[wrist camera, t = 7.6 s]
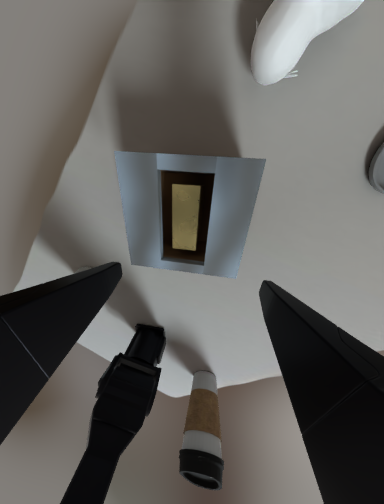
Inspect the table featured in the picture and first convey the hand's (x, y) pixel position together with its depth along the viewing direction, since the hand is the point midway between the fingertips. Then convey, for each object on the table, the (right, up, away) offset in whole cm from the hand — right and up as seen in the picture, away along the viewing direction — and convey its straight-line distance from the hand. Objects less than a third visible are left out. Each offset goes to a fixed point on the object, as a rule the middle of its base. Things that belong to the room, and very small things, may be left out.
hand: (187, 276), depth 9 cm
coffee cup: (+4, -32, +29) cm, 43 cm away
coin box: (+1, +7, +10) cm, 12 cm away
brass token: (0, +7, +10) cm, 12 cm away
